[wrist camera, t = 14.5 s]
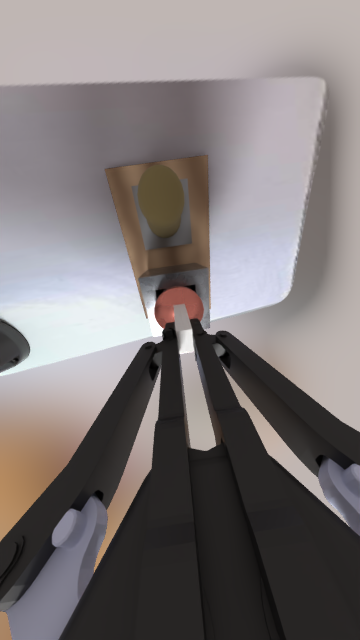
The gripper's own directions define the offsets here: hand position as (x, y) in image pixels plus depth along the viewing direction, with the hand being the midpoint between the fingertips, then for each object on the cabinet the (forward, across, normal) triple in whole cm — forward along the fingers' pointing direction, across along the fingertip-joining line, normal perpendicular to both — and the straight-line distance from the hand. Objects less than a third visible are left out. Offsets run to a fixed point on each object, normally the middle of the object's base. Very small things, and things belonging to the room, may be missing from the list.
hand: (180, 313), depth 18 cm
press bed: (+15, 0, +7) cm, 16 cm away
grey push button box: (+13, 0, 0) cm, 13 cm away
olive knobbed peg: (+12, 0, +13) cm, 18 cm away
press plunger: (+9, 0, 0) cm, 9 cm away
